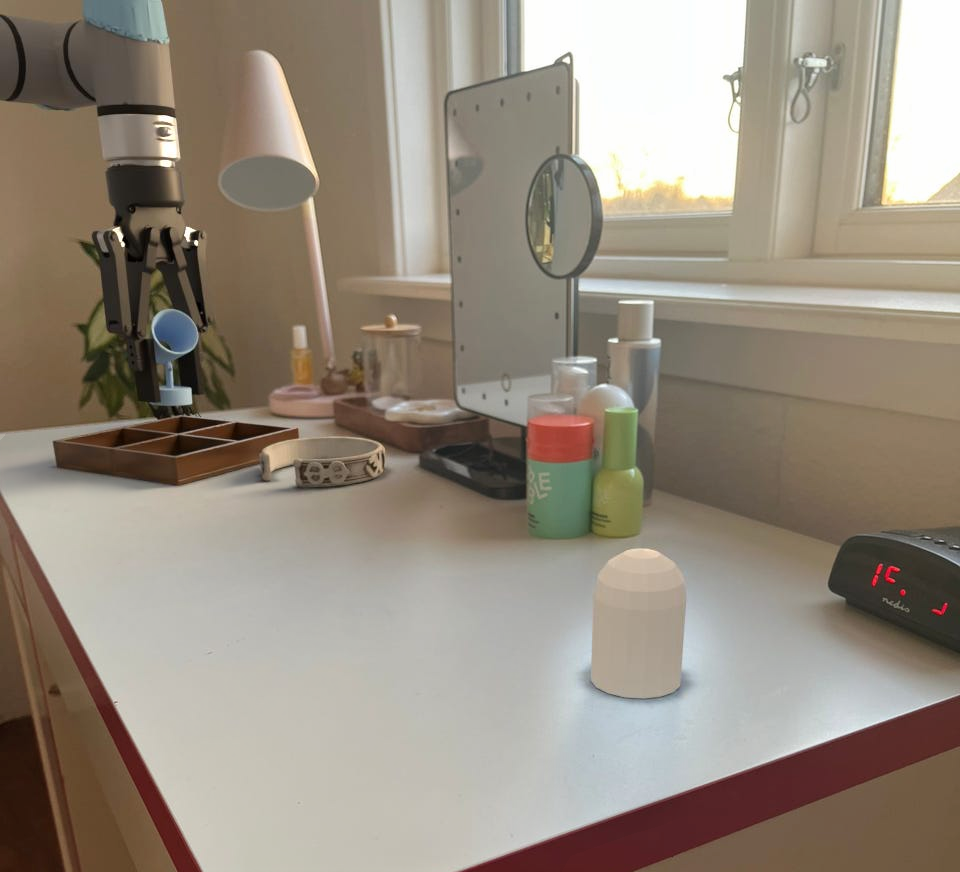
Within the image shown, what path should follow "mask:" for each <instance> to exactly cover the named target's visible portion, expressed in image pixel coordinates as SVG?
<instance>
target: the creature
mask: <svg viewBox="0 0 960 872" xmlns="http://www.w3.org/2000/svg"><path fill="white" fill-rule="evenodd" d="M147 404H148V406H149V408H150V411H151V412H152V415H153V416H154V418H156V420H160V419H165V418H170V417H172V415H171V413H170V412H169V411H170V410H169V406H161V405H158V408H155V407H154V406H153V405H152V404H150V402H147ZM170 408H171V412H172V414H173V417H175V416H180V415H183V416H191V415H192V416H195V417H202V416H201V415H200V413H199V412H198V411H195V412H194V411H193V409H192V407H191V406H190V405H181V406H170Z"/></svg>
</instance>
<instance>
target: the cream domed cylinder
mask: <svg viewBox="0 0 960 872" xmlns="http://www.w3.org/2000/svg"><path fill="white" fill-rule="evenodd" d="M592 601H593V602H592V629H591V630H592V632H591V663H590V682H591V683H592V684H593V685H594V686H595V688H597V689H599V690H600V691H603V692H604V693H607V694H608V695H613V696H617V697H621V698H626V699H627V698H628V699H653V698H654V699H655V698H661V697H663V696H664V697H665V696H667V695H669V694H673V693H674V692H676V691H677V690H678V689H679V688H680V687H681V683H682V670H683V669H682V667H683V655H684V654H683V653H684V640H685V639H684V638H685V625H686V612H687V611H686V609H687V591H686V584H685V577H684V575H683V573H682V572H681V570H680V569H679V567H678V566H677V564H676V563H675V562H674V561H673V560H671V559H670V558H668V557H667V556H666V555H664V554H662V553H661V552H659V551H657V550H654V549H651V548H631V549H627V550H625V551H623V552H621V553H619V554H617V555H616V556H614V557H612V558H610V559H608V561H607V562H606V563H605V564H604V566H603V567H602V569H601V570H600V571H599V572H598V574H597V580H596V584H595V587H594V591H593V600H592Z"/></svg>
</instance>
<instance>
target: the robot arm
mask: <svg viewBox="0 0 960 872" xmlns="http://www.w3.org/2000/svg"><path fill="white" fill-rule="evenodd" d="M81 15H82V18H83V19H80V20H76V21H70V22H50V21H45V20H39V19H32V18H26V17H19V16H13V15H6V14H2V13H0V102H1V101H2V102H10V103H21V104H28V105H29V104H30V105H35V106H36V107H37V108H40V109H42V110H43V109H44V110H46V111H47V110H48V111H65V112H71V111H75V110H76V109H81V108H86V107H93V106H96V113H97V122H98V130H99V137H100V143H101V144H100V146H101V153H102V159H103V160H104V161H105V162H107V163H109V167H107V168H106V170H105V171H104V172H105V173H104V174H105V180H106V187H107V197H108V203H109V204H110V205H111V206H112V207H113V209H114V212H115V213H114V214H115V215H114V219H113V222H112V224H113V225H112V227H109V228H107V229H105V230H93V232H92V233H91V240H92V242H93V245H94V248H95V250H96V253H97V256H98V263H99V270H100V272H99V273H100V280H101V288H102V289H101V290H102V298H103V299H102V300H103V307H104V309H103V310H104V317H105V328H106V331H107V332H108V334H113V335H116V336H117V338H119V339H124V341H125V347H126V354H127V362H128V368H129V370H130V371H132V372H133V374H134V381H135V389H136V397H137V402H141V403H148V402H151V403H158V402H161V397H160V389H159V386H160V383H159V381H160V380H159V374H158V366H157V363H156V358H155V350H154V342H153V339H149V338H146V336H147V329H148V320H149V319H148V318H149V308H150V295H151V286H152V285H151V284H152V274H153V273H154V272H155V271H156V269H157V271H159V272H160V274H161V276H162V279H163V282H164V285H165V288H166V291H167V294H168V297H169V300H170V303H171V306H172V309H175V310H178V311H181V312H183V313H185V314H186V315H188V316H189V317H190V318H191V319H192V321H193V322H194V323H195V325H196V327H197V330H198V342H197V344H196V346H195V348H194V349H193V350H191V351H190V352H188V353H186V354H185V355H183V356H181V357H179V358H177V364H178V366H177V367H178V374H179V380H180V381H179V384H180V386H185V387H190V388H191V391H192V396H193V395H195V396H203V395H205V392H204V391H205V390H204V382H203V372H202V365H201V363H203V360H204V351H203V341H202V334H205V333H207V332H208V330H209V326H213V325H214V323H215V316H214V315H215V314H214V308H213V299H212V293H211V285H210V278H209V272H208V271H209V270H208V263H207V256H206V250H207V241H208V234H207V232H206V231H205V230H204V229H193V228H191V227H188V226H187V224H186V221H185V219H184V217H183V215H182V207H184V206H185V204H186V195H185V185H184V184H185V183H184V176H183V171H181V168H179V167H176V163H178V162H179V161H180V160H181V151H180V143H179V142H180V141H179V135H178V124H177V115H176V104H175V103H176V102H175V95H174V83H173V75H172V65H171V55H170V46H169V45H170V37H169V35H168V30H167V29H168V28H167V24H166V18H165V11H164V6H163V3H162V0H82V12H81Z"/></svg>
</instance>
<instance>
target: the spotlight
mask: <svg viewBox="0 0 960 872" xmlns="http://www.w3.org/2000/svg"><path fill="white" fill-rule="evenodd" d="M148 339H153V342H154V350H155V358H156V364H158V365H162V366H163V365H164V369H165V382H166V383H165V384H166V385H159V389H160V397H161V402H158V403H151V402H150V404H152V406H153V405H154V406H159V405H161V406H167V407H171V406H176V407H179V406H180V407H181V405H184V406H190V405H193V394H192V391H191V388H190V387H185V386H181V385H174V371H173V369H174V368H173V363H172V362H174V361H175V360H178V358H179V357H181V356H183V355H185V354H186V353H188V352H190V351H191V350H193V349H194V348H195V346H196V344H197V342H198V330H197V327H196V325H195V323H194V322H193V321H192V319H191V318H190V317H189V316H188V315H186V314H185V313H183V312H181V311H178V310H175V309H173V308H166V309H162V310H159V312H157V313H156V314H155V315H154V316H153V318H152V320H151V327H150V331H149V336H148ZM160 342H164V343H166V344H167V345H168V346H169V347H170V349H171V350H170V349H168V348H166V347H165V346H163V345H162V344H161V343H160Z"/></svg>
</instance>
